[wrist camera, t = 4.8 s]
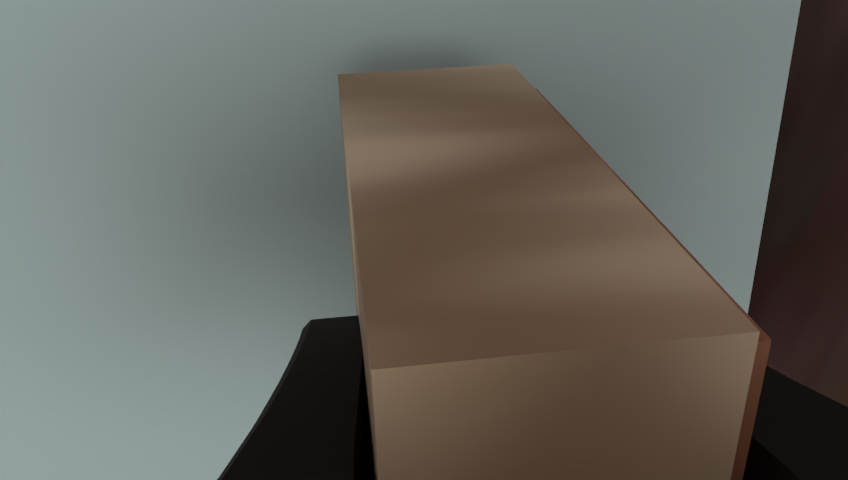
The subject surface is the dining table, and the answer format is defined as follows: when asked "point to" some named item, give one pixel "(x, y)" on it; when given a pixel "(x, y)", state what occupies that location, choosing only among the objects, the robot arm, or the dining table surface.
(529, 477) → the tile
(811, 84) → the dining table surface
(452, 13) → the mat
